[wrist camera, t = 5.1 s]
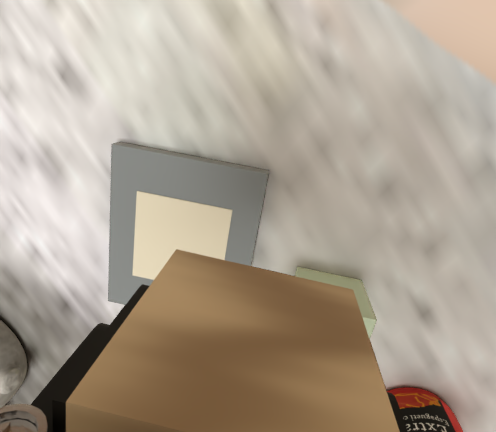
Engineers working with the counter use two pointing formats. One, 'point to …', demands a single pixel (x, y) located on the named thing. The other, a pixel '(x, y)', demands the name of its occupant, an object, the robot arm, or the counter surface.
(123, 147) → the build board
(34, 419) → the robot arm
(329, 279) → the sage block
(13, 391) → the dish
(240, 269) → the oak block
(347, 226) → the counter surface
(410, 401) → the canned food
